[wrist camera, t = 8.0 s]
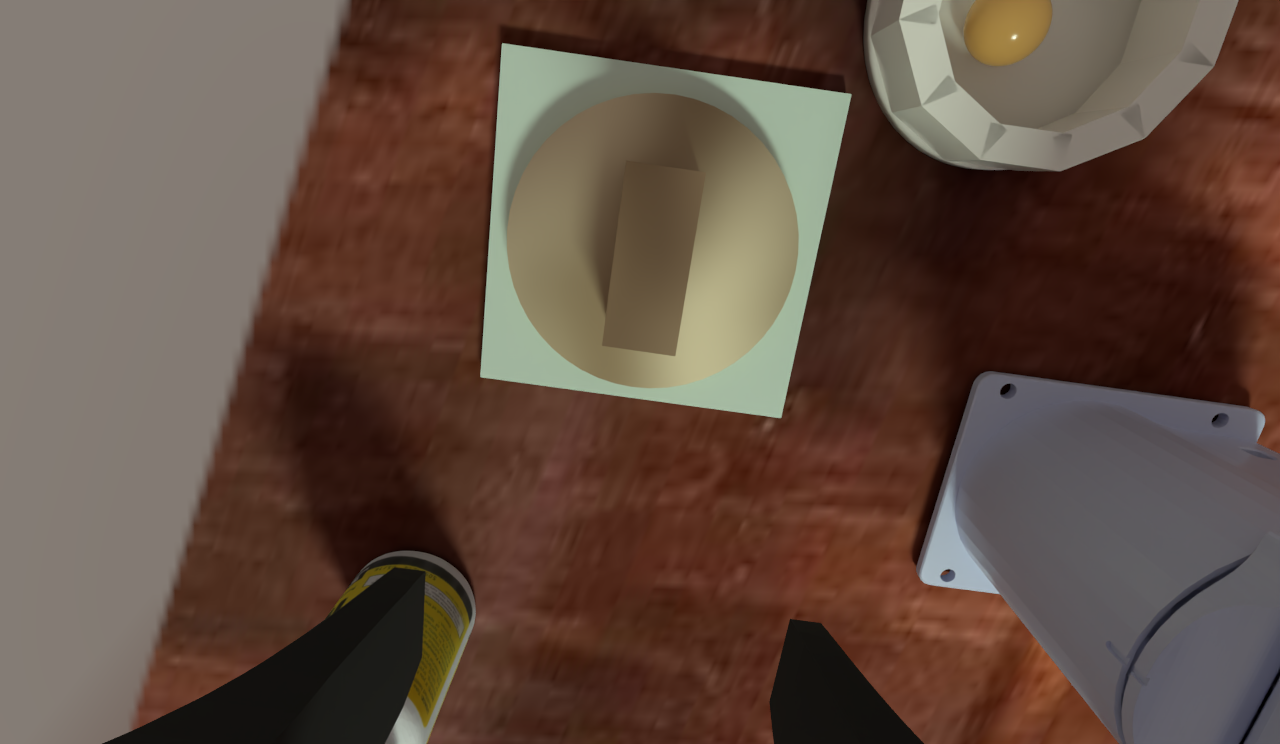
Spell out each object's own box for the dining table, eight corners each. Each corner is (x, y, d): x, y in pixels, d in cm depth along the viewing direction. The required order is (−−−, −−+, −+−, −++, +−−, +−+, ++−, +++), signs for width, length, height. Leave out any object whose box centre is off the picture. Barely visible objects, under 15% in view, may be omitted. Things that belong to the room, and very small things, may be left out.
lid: (821, 120, 19) (855, 111, 16) (762, 397, 21) (781, 437, 18) (525, 74, 19) (499, 56, 16) (501, 360, 21) (475, 394, 18)
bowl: (1202, -125, 17) (1310, -182, 14) (1096, 187, 20) (1171, 191, 17) (904, -171, 17) (953, -238, 14) (834, 149, 20) (865, 147, 17)
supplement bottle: (358, 535, 24) (208, 721, 16) (485, 558, 24) (400, 754, 16) (350, 640, 26) (210, 859, 17) (470, 662, 26) (386, 888, 18)
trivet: (846, 96, 19) (851, 94, 19) (778, 412, 22) (780, 418, 22) (505, 46, 19) (501, 43, 18) (484, 372, 22) (480, 376, 22)
